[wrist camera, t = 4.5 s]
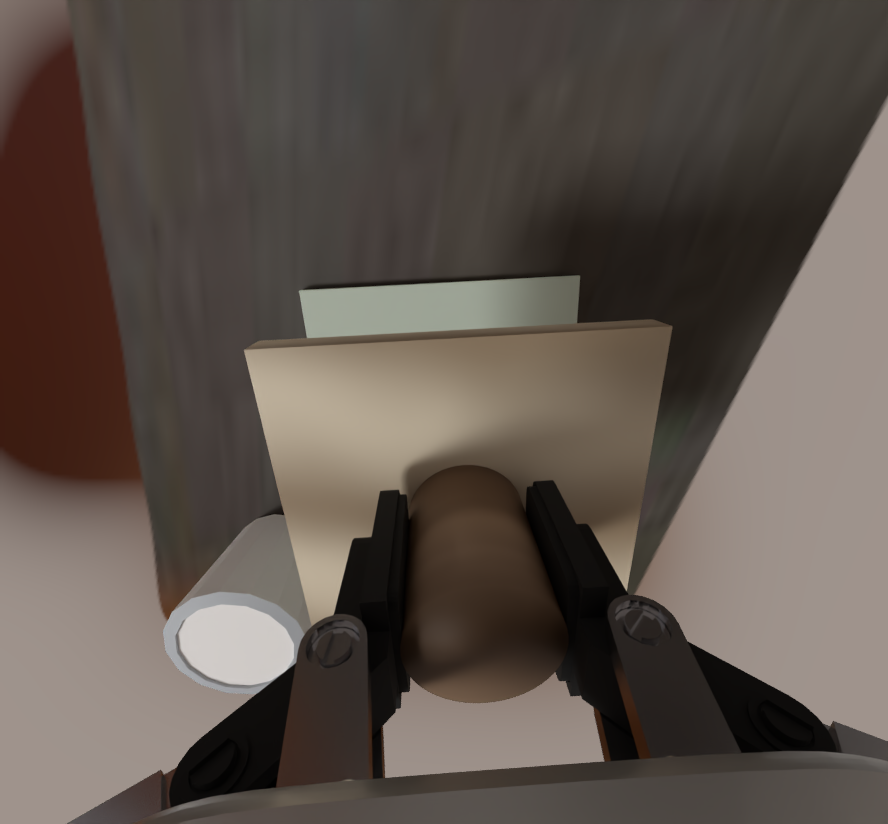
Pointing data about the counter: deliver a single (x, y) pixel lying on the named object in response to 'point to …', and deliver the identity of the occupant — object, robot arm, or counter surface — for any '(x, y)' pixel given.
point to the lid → (463, 475)
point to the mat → (440, 306)
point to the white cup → (242, 613)
